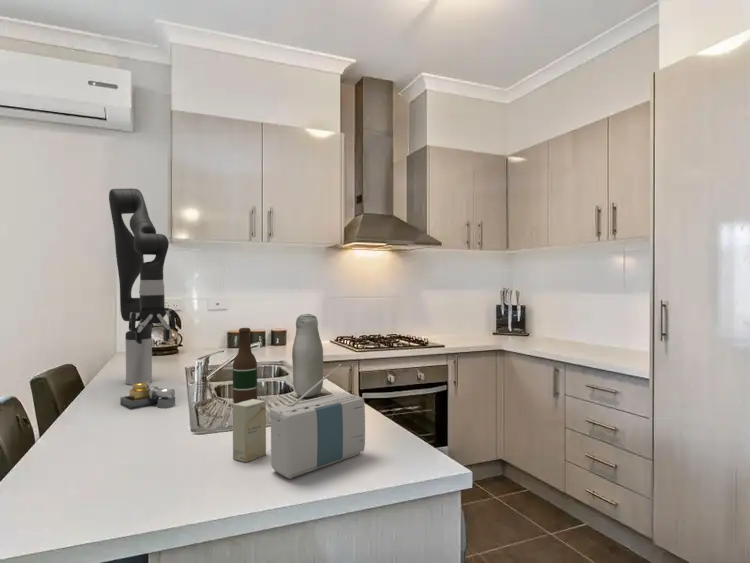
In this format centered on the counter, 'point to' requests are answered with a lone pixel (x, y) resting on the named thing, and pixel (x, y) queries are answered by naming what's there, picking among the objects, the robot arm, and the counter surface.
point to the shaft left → (147, 384)
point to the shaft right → (162, 396)
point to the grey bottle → (307, 356)
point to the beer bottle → (244, 370)
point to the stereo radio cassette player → (316, 432)
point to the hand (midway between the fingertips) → (152, 342)
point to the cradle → (137, 402)
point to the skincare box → (249, 430)
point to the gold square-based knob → (139, 391)
